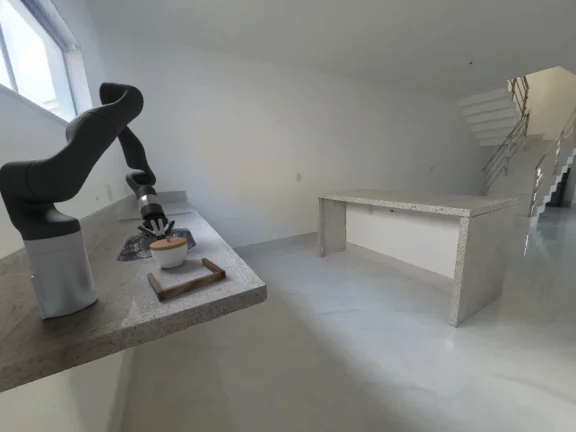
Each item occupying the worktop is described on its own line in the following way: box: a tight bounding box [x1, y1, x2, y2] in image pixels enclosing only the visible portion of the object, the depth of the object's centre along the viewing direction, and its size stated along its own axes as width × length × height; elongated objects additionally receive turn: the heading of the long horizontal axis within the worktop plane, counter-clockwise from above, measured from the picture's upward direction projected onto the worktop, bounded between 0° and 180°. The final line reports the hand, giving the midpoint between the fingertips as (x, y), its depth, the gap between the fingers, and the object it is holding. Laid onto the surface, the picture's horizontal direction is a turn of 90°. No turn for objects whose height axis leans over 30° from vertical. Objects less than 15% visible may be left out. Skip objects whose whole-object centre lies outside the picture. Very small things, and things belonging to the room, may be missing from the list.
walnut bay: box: [146, 257, 227, 302], centre depth 65 cm, size 16×15×2 cm
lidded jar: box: [149, 236, 188, 269], centre depth 76 cm, size 11×11×9 cm
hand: (163, 245), depth 84 cm, fingers closed
